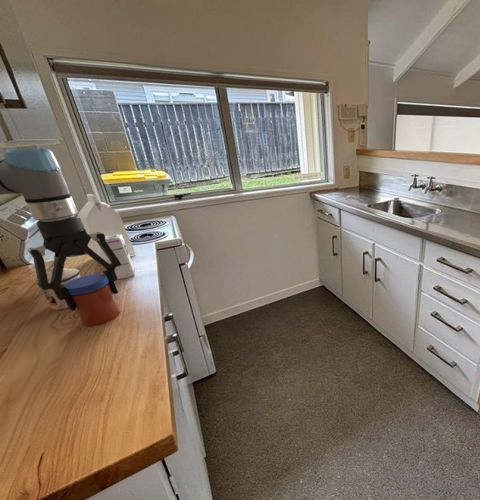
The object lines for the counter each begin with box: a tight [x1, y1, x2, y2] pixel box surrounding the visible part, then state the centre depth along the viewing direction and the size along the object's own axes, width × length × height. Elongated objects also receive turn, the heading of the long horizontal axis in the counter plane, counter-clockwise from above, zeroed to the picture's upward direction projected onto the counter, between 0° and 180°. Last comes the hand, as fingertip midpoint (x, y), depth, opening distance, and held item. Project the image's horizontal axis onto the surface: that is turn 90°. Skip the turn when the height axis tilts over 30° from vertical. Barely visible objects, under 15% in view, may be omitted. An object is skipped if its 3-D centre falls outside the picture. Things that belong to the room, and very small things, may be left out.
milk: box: [77, 193, 137, 263], centre depth 113 cm, size 12×12×26 cm
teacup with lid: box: [36, 266, 82, 311], centre depth 82 cm, size 12×9×12 cm
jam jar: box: [70, 283, 121, 327], centre depth 75 cm, size 8×8×10 cm
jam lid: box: [64, 272, 109, 295], centre depth 73 cm, size 8×8×2 cm
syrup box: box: [103, 234, 136, 281], centre depth 98 cm, size 6×6×14 cm
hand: (94, 300), depth 75 cm, fingers closed on jam lid, 8 cm apart
